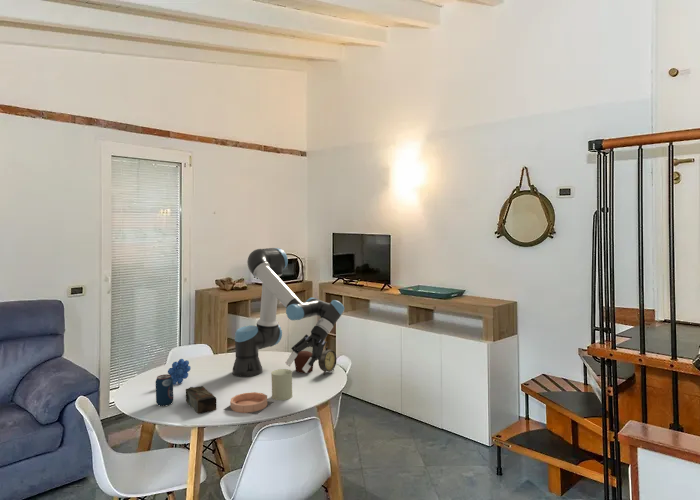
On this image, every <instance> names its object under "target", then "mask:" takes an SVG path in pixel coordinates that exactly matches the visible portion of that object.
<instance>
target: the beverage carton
mask: <svg viewBox="0 0 700 500" xmlns="http://www.w3.org/2000/svg"><path fill="white" fill-rule="evenodd" d="M185 402H186V403H187V404H188V406H189V405H190V408H191V409H193V411H194V412H195V413H197V414H198V415H201V414H205V413H209V412H213V411H216V410H217V397H216V396H215V395H214V394H213V393H211V392H210V391H209V390H208V389H207V388H206V387H204V385H200V386H199V385H198V386H195V387H194V386H190V387H188V388H186V389H185Z"/></svg>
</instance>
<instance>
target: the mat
mask: <svg viewBox="0 0 700 500" xmlns="http://www.w3.org/2000/svg"><path fill="white" fill-rule="evenodd" d="M274 403H275V401H270V400H269V401H268V400H267V406H266V407H265V408H264V409H262V410H259V411H256V412H250V413H249V414H251V415H259V414H260V413H262V412H263V411H265V409H266V410H267V408H268V407H270V406H271V405H273V404H274ZM224 410H225V411H230V412H234V411H233V410H232V409H231V407H230V405H228V406H227V407H225V408H223V411H224Z"/></svg>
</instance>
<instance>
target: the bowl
mask: <svg viewBox="0 0 700 500" xmlns="http://www.w3.org/2000/svg"><path fill="white" fill-rule="evenodd" d="M267 401H268V395H266V394H265V393H264V392H252V391H251V392H243V393H240V394H236V395H235V396H232V397H231V398H230V401H229V402H230V404H229V406H230V407H231V409H232V410H233V411H232V412H235V413H240V414H241V413H242V414H250V412H256V411H259V410H262V409H264V408H265V407H266V406H267ZM264 410H265V409H264Z"/></svg>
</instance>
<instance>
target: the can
mask: <svg viewBox="0 0 700 500" xmlns="http://www.w3.org/2000/svg"><path fill="white" fill-rule="evenodd" d="M270 374H271V399H273V400H275V401H286V400H290V399H292V398H293V370H291V369H287V368H279V369H274V370H273V371H271V373H270Z"/></svg>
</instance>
